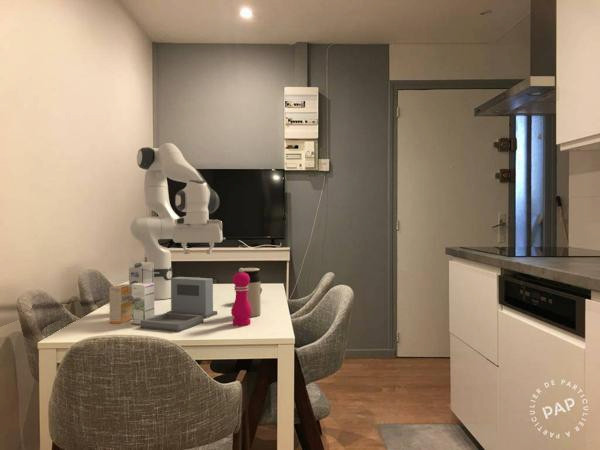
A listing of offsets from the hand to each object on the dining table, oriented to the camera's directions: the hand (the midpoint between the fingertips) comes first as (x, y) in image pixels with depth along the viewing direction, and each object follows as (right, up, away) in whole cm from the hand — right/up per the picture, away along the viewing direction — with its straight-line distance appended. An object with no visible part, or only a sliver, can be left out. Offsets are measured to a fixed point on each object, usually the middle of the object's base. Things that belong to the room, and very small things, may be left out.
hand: (197, 253), depth 176 cm
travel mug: (+22, -24, -7) cm, 33 cm away
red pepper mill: (+21, -24, -22) cm, 38 cm away
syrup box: (-15, -24, -19) cm, 34 cm away
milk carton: (-23, -24, +1) cm, 33 cm away
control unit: (-1, -23, -6) cm, 24 cm away
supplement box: (-24, -24, -16) cm, 38 cm away
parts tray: (-4, -24, -23) cm, 33 cm away
